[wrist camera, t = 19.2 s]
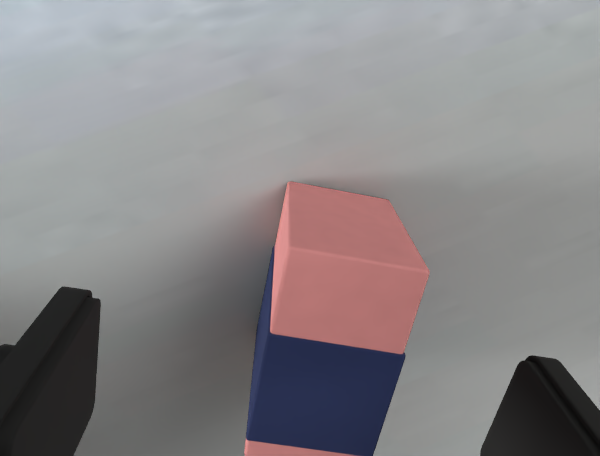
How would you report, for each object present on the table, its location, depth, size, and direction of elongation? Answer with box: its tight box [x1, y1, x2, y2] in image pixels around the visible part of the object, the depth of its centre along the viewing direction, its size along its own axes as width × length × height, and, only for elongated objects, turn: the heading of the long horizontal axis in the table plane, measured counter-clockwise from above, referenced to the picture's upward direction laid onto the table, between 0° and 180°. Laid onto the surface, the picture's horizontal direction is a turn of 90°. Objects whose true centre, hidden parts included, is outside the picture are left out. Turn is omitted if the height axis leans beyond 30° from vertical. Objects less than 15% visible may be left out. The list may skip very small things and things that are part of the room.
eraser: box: [244, 181, 430, 456], centre depth 14 cm, size 6×3×5 cm, turn 169°
